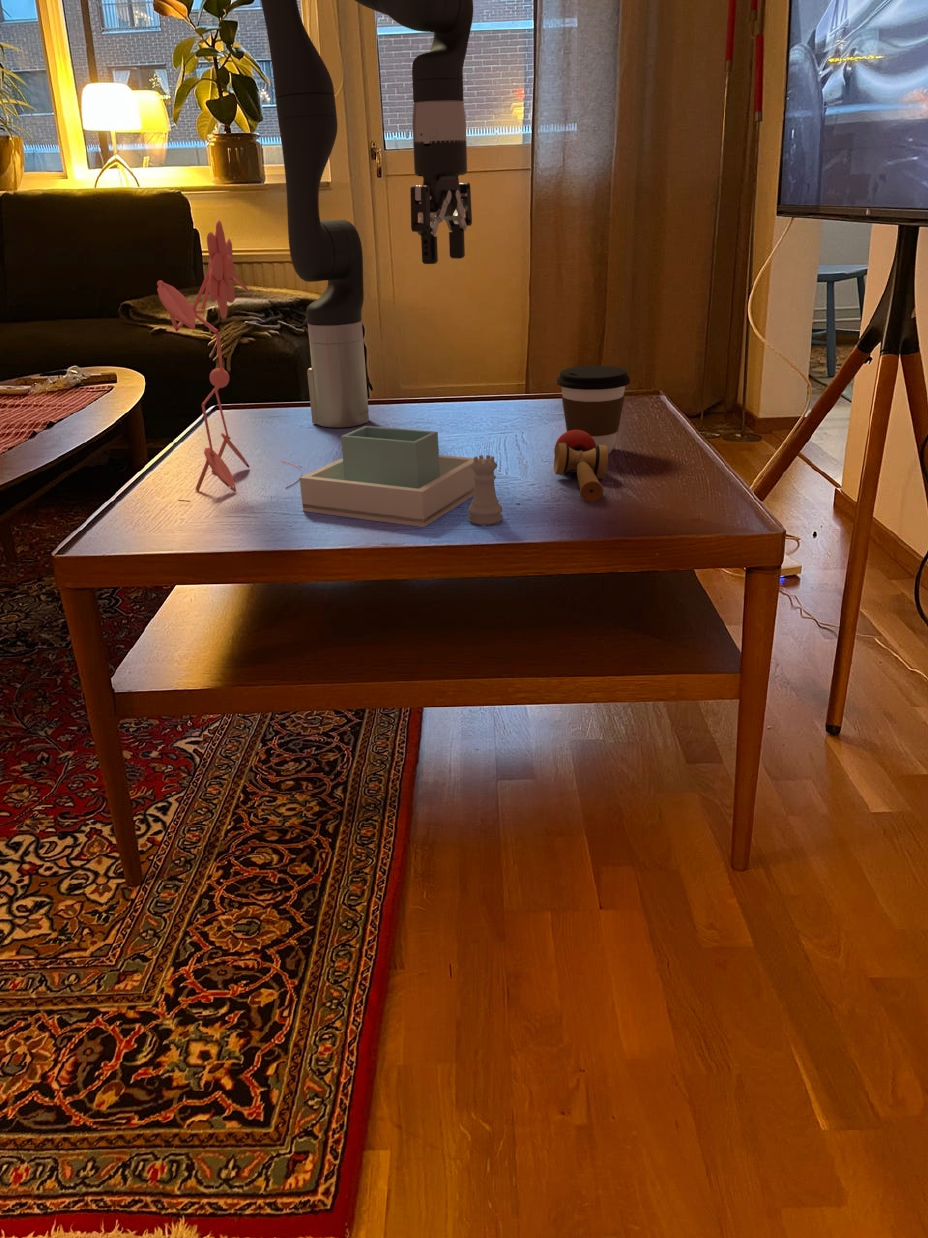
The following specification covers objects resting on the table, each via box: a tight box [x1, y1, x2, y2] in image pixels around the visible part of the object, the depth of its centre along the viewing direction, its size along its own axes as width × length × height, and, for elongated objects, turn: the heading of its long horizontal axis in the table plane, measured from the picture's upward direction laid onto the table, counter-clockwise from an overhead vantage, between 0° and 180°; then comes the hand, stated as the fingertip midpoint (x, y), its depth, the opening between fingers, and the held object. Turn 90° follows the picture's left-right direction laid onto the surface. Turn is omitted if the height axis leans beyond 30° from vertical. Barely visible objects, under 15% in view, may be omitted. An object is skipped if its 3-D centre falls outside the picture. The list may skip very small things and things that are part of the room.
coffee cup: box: [556, 365, 631, 455], centre depth 148 cm, size 11×11×12 cm
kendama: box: [553, 430, 609, 503], centre depth 134 cm, size 8×6×18 cm
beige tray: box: [299, 454, 475, 528], centre depth 129 cm, size 18×16×4 cm
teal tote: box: [340, 425, 440, 489], centre depth 128 cm, size 11×6×8 cm, turn 64°
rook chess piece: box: [467, 454, 504, 527], centre depth 120 cm, size 4×4×8 cm
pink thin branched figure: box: [156, 220, 303, 503], centre depth 134 cm, size 15×26×35 cm, turn 179°
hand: (443, 260), depth 144 cm, fingers open, 8 cm apart
